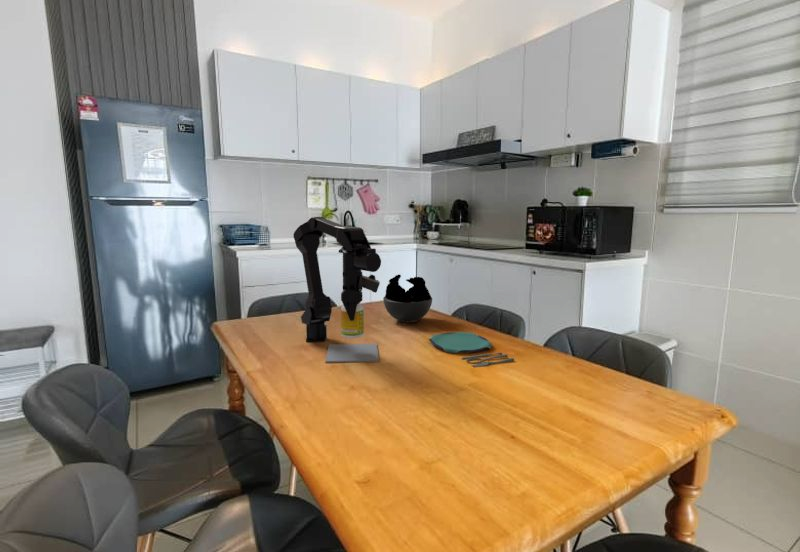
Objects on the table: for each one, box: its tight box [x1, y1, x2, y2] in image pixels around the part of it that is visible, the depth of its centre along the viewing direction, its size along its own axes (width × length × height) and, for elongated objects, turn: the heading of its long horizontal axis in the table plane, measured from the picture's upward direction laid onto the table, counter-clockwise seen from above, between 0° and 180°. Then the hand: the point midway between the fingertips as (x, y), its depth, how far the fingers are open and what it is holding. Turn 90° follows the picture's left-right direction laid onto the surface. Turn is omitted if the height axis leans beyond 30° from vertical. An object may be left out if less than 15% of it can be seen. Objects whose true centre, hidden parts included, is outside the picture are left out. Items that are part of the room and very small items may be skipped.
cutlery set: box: [428, 331, 515, 368], centre depth 139 cm, size 20×30×2 cm, turn 21°
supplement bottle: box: [340, 302, 365, 339], centre depth 133 cm, size 7×7×13 cm
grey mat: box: [324, 343, 380, 364], centre depth 135 cm, size 16×16×1 cm
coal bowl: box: [382, 274, 433, 323], centre depth 173 cm, size 20×20×19 cm
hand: (352, 317), depth 133 cm, fingers closed on supplement bottle, 7 cm apart
